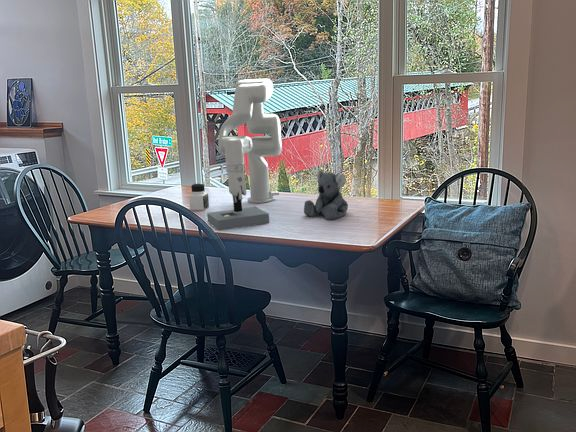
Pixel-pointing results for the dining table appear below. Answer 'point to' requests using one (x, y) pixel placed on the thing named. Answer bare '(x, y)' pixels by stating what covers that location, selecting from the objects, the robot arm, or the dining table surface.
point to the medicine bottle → (198, 197)
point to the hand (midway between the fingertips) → (238, 211)
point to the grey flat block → (238, 218)
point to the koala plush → (328, 197)
